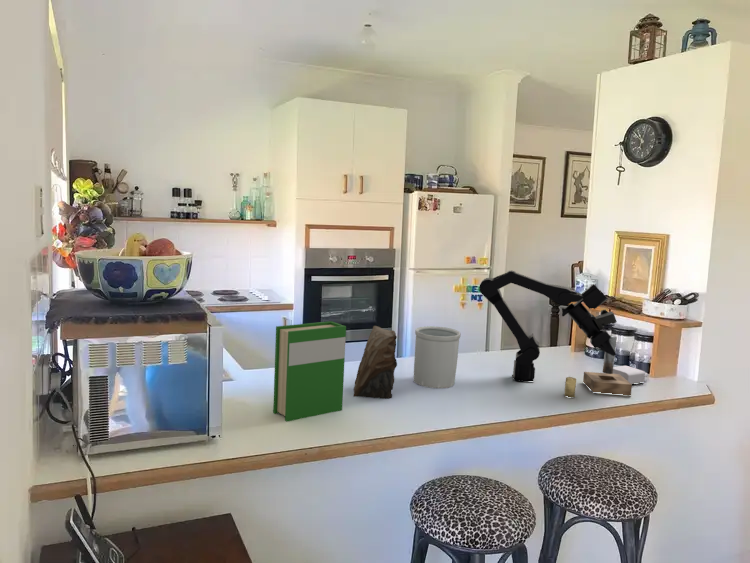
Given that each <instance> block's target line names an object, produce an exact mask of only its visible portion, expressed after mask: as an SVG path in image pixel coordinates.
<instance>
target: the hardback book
mask: <svg viewBox="0 0 750 563" xmlns="http://www.w3.org/2000/svg"><path fill="white" fill-rule="evenodd" d="M346 335H347V326H346V325H344V324H343V325H342V324H341V323H338V322H335V321H332V320H331V321H330V320H329V321H321V322H319V321H318V322H309V323H299V324H289V325H278V326H277V325H276V327H275V342H274V343H275V347H274V378H273V379H274V380H273V407H272V409H273V410H272V413H273V414H274V415H276V414H281V415H282V416H284V421H285V422H287V423H288V422H292V421H296V420H302V419H307V418H310V417H311V418H312V417H317V416H321V415H324V414H325V415H326V414H329V413H335V412H340V411H343V398H344V396H343V395H344V380H345V379H344V376H345V356H346V338H347V336H346Z"/></svg>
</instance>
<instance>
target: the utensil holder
mask: <svg viewBox="0 0 750 563" xmlns="http://www.w3.org/2000/svg"><path fill="white" fill-rule="evenodd" d="M414 333H415V346H414V347H415V348H414V362H413V382H414V383H415V384H417V385H419V386H421V387H425V388H430V389H449V388H451V387H453V386H455V382H456V375H457V374H456V373H457V366H458V358H459V355H458V354H459V345H460V339H461V332H460V331H459V330H456V329H453V328H450V327H443V326H435V325H433V326H430V325H429V326H428V325H427V326H420V327H416V328H415V332H414Z"/></svg>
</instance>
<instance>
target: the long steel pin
mask: <svg viewBox="0 0 750 563" xmlns="http://www.w3.org/2000/svg"><path fill="white" fill-rule="evenodd" d="M609 335H610V336H611V337H610V338H609V342H610V344H611V346H612V348H613V349H614V351H615V352H616V348H617V341H618V336H617V335H613V334H612V335H611V334H609ZM615 356H616V355H615ZM615 356H612V355H610V354H609V353H607V352H605V351H604V356H603V365H602V373H607V374H613V367H615V366H614V364H615Z"/></svg>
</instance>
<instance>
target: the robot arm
mask: <svg viewBox="0 0 750 563" xmlns="http://www.w3.org/2000/svg"><path fill="white" fill-rule="evenodd" d="M510 284H513V285H516V286H519V287H522V288H524V289H526V290H530V291H533V292H535V293H539V294H540V295H543V296H545V297H547V298H548V299H550V300H551V301H553V302H555V303H557V304H558V305H560V306H562V307H561V313H560V314H561V317H565V316H566V315H569V317H570V318H571V319H572V321H573V322H574V323H575V324H576V325H577V326H578V328H579V329H580V330H581V331H582V332H583V333H584V334H585V335H586V337H587V338H588V339H589V341H590V342H589V343H590V344H591V346H592V347H593V348H594V349H599V350H601V351H603V352H604V353H605V352H607V353H609V354H610V355H612V356H616V355H617V354H616V350H615V351H614V349H613V348H612V346H611V344H610V342H609V338H610V337H611V336H610V335H611V334H610V333H609V332H608V331H607V330H606V329H605V326H608V325H611V324H616V323H617V318H616V317H615V313H614V312H613V311H611V310H610V311H608V310H606V309H602V310H600V314H598V315H597V316H595V315H594V314H592V313H591V312H590V310H591V309H593V310H596V309H597V308H598V307H600V306H601V305H602V304H604V303H605V302H606V301H608V300H609V299H608V297H607V296H606V295H605V294H604V292H602V290H601V289H599V288H598V286H596V285H595V284H594V283H592V284H591V285H589V287H588V288H587V289H585V291H583V292H582V293H580V292H578V291H577V292H576V291H573V290H571V289H570V288H569V287H568V286H564V285H556V284H549V283H546V282H543V281H540V280H538V279H535V278H532V277H529V276H527V275H523V274H521V273H519V272H516V271H515V270H508V271H506V272H504V273H503V274H499V275H497V276H495V277H493V278H492V277H486V278H484V279H483V280H482V281H481V282H480V284H479V286H478V288H479V289H478V290H479V292H480V294H481V295H482V296H484V298H485V299H486V300H487V301H488V302H489V303H491V304H492V305H493V307H494V308H495V309H496V311H497V312H498V314H499V315H500V317H501V318H502V320H503V321H504V323H505V324H506V326H507V327H508V328H509V330H510V332H511V333H512V335H513V336H514V338H515V339H516V343H517V344H518V347H519V350H518V351H516V354H515V360H514V361H513V371H512V374H511V377H512V376H513V377H512V379H513V378H514V379H513V381H514V380H520V381H519V382H523V381H534V380H535V374H536V368H535V365H534V361H535V360H537V359H538V358H539V357H540V354H541V353H540V351H541V350H540V341H538V340H537V339H536V337H535V335H534V333H531V334H529V333H527V332H526V330H525V329H524V328H523V326H522V325H521V323H520V322H519V320H518V319H517V317H516V316H515V314H514V313H513V311H512V310H511V308H510V307H509V305H508V304H507V303H506V301H505V300H504V297H503V295H502V292H501V289H502V288H504V287H505V286H507V285H510ZM563 306H566V307H563ZM586 307H587V308H586ZM588 309H589V310H588Z"/></svg>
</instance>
